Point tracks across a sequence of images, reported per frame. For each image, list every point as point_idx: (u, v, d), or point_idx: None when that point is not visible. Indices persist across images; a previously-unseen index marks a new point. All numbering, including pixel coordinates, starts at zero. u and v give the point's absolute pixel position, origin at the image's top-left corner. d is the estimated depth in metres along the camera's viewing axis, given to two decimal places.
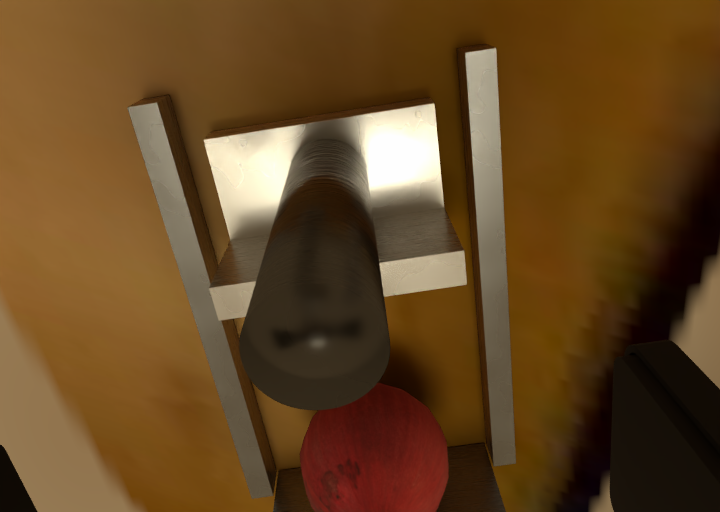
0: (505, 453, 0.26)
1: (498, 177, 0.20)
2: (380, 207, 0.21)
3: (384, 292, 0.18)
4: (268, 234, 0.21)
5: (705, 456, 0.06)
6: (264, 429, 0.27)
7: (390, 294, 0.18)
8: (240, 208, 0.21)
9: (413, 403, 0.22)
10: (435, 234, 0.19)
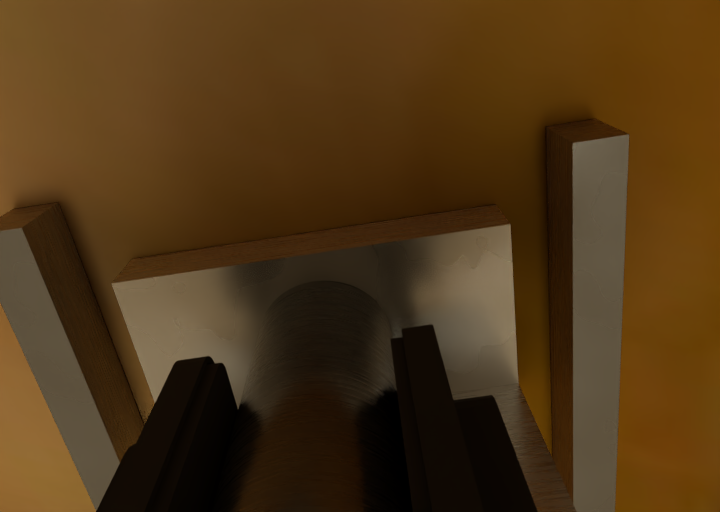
0: None
1: (614, 342, 0.12)
2: None
3: None
4: None
5: (406, 416, 0.07)
6: None
7: None
8: None
9: None
10: None
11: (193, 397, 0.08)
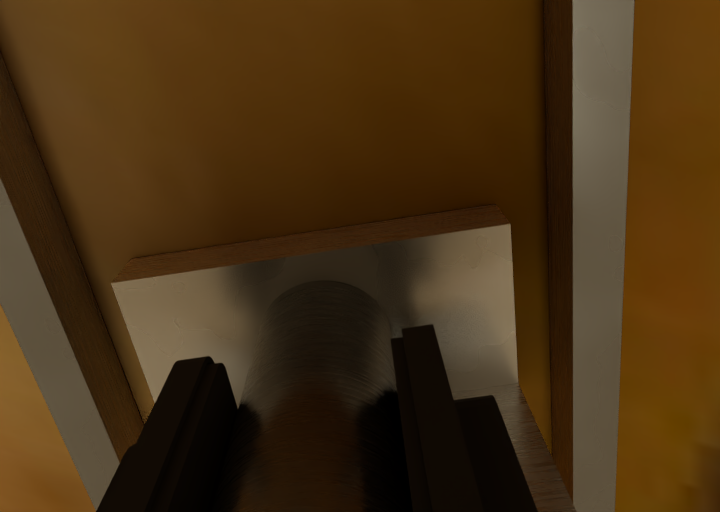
0: None
1: (621, 128, 0.10)
2: None
3: None
4: None
5: (406, 416, 0.07)
6: None
7: None
8: None
9: None
10: None
11: (193, 397, 0.08)
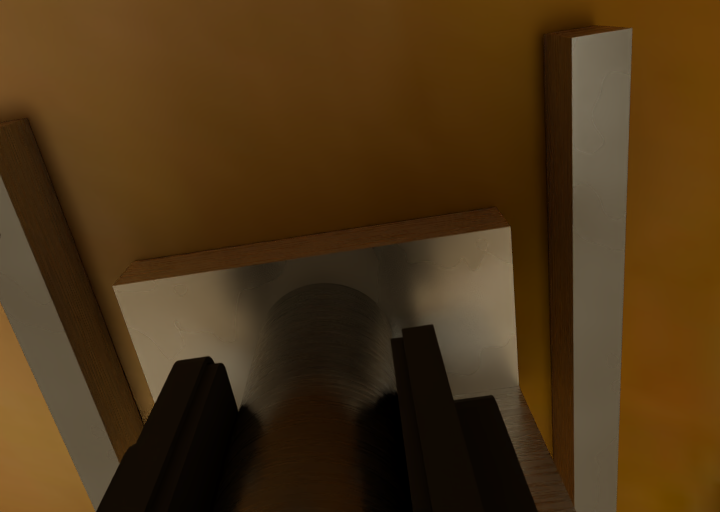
0: None
1: (617, 265, 0.11)
2: None
3: None
4: None
5: (406, 416, 0.07)
6: None
7: None
8: None
9: None
10: None
11: (193, 397, 0.08)
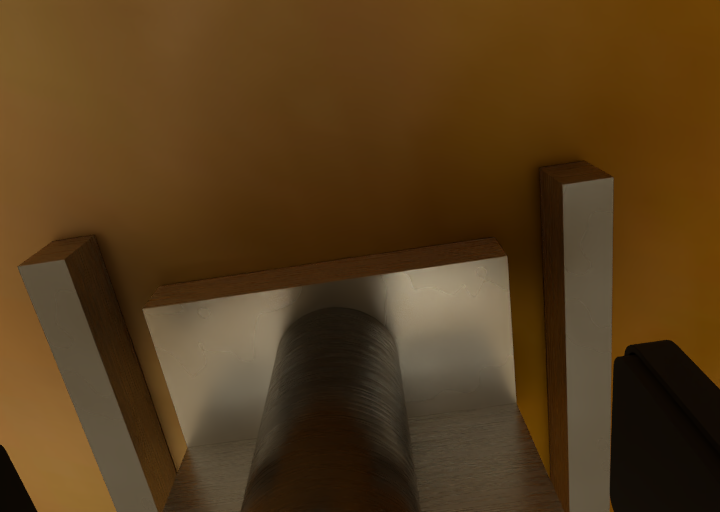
0: None
1: (605, 365, 0.13)
2: (417, 402, 0.14)
3: None
4: (245, 440, 0.14)
5: (705, 456, 0.06)
6: None
7: None
8: (201, 404, 0.14)
9: None
10: (514, 476, 0.12)
11: None
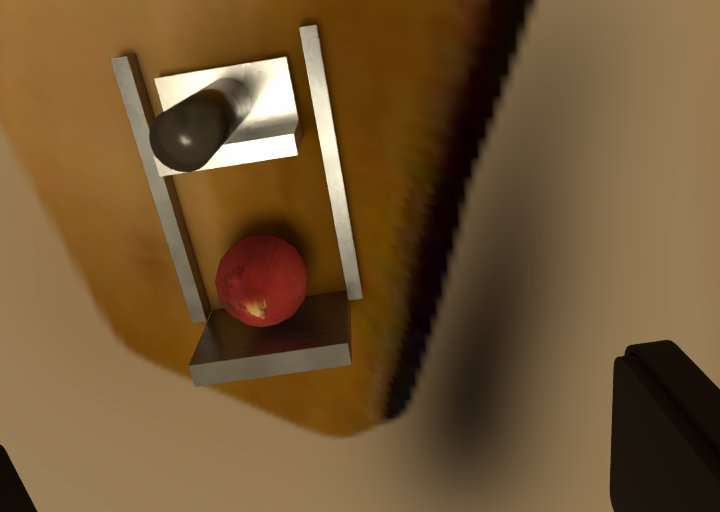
0: (355, 290, 0.40)
1: (327, 101, 0.35)
2: (260, 120, 0.35)
3: (251, 159, 0.33)
4: None
5: (705, 456, 0.06)
6: (201, 278, 0.41)
7: (255, 160, 0.33)
8: None
9: (283, 242, 0.36)
10: (284, 130, 0.33)
11: None
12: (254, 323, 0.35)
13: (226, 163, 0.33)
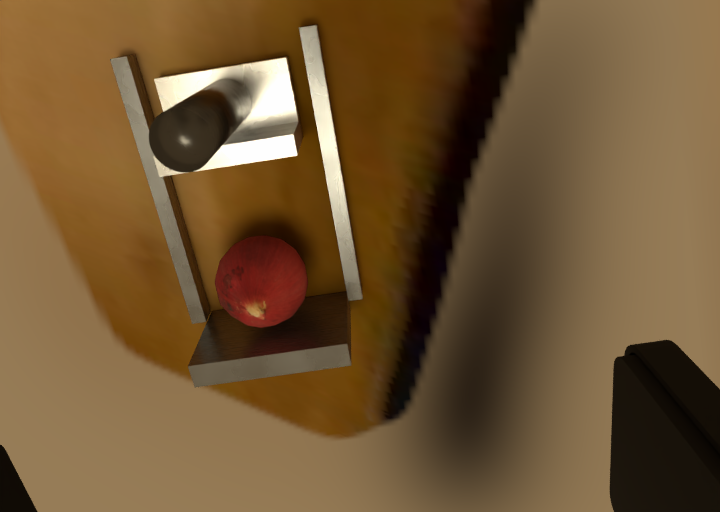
0: (354, 291, 0.40)
1: (327, 102, 0.35)
2: (260, 121, 0.35)
3: (251, 160, 0.33)
4: None
5: (705, 456, 0.06)
6: None
7: (254, 161, 0.33)
8: None
9: (283, 243, 0.36)
10: (284, 130, 0.33)
11: None
12: (254, 324, 0.35)
13: (226, 163, 0.33)
